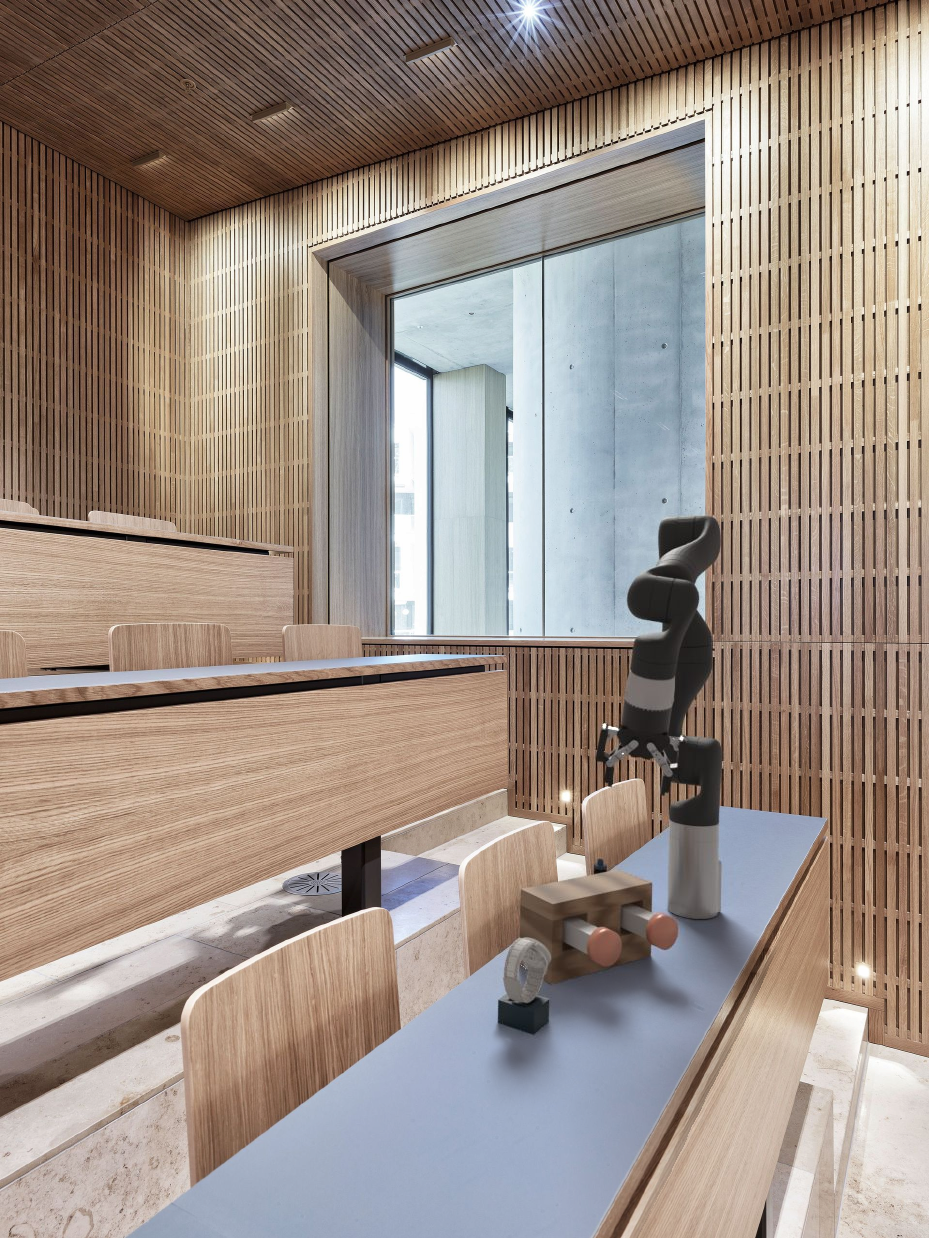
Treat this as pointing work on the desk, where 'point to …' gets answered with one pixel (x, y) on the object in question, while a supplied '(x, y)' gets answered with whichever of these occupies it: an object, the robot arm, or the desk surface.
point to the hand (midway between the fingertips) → (635, 789)
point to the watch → (525, 987)
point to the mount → (583, 918)
